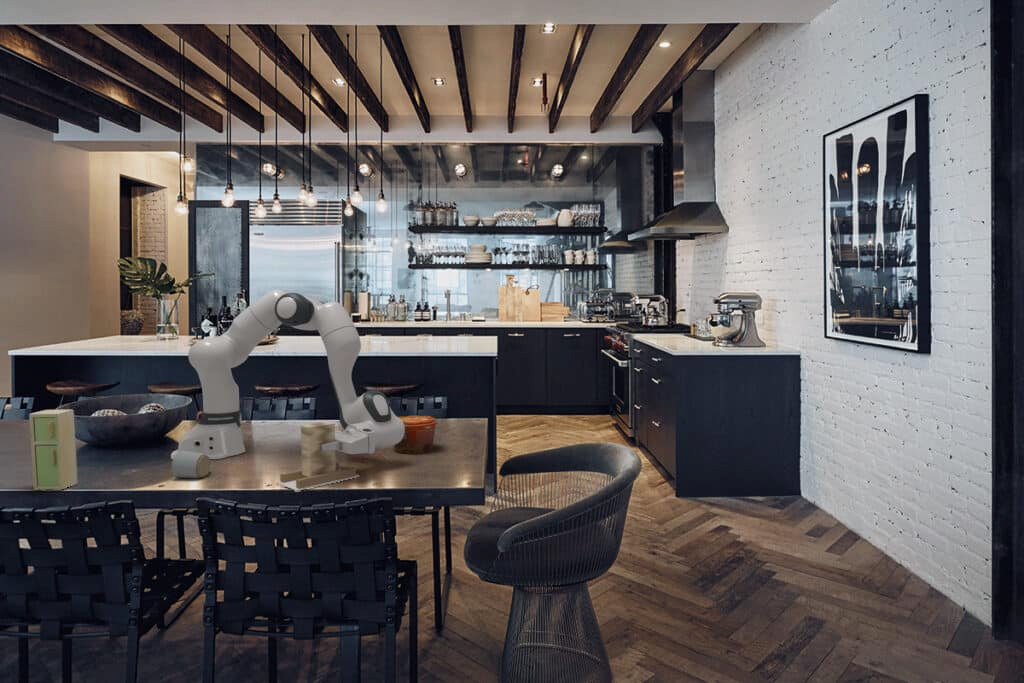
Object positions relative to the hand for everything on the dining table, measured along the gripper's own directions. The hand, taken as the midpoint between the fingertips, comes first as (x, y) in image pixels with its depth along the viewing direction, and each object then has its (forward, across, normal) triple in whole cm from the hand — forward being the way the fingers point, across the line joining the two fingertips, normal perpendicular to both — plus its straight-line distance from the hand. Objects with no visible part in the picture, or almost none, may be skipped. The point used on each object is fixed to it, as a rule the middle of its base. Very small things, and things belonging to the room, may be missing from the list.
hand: (315, 445), depth 187 cm
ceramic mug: (+21, -31, +10) cm, 39 cm away
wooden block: (-1, 0, +8) cm, 8 cm away
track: (-1, 0, +10) cm, 10 cm away
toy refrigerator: (+52, -47, +10) cm, 71 cm away
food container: (-44, -11, +11) cm, 47 cm away
